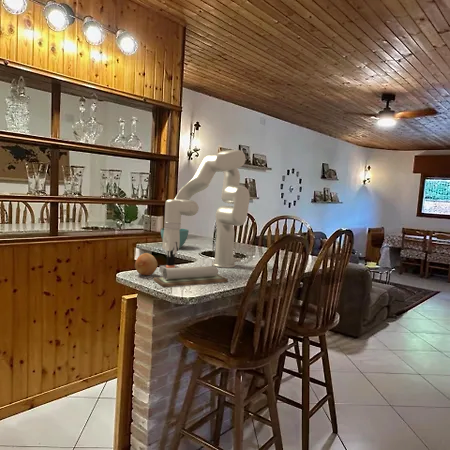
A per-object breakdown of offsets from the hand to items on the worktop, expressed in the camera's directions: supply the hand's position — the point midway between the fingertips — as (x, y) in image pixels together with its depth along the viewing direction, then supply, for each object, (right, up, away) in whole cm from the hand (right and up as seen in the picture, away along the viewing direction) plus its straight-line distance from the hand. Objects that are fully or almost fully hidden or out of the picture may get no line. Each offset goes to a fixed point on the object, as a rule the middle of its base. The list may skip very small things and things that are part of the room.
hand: (170, 265), depth 177 cm
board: (+11, -5, -14) cm, 19 cm away
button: (0, -4, +1) cm, 4 cm away
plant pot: (-8, +3, +71) cm, 71 cm away
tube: (+11, -4, -15) cm, 19 cm away
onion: (-10, -4, -9) cm, 14 cm away
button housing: (0, -3, +1) cm, 3 cm away
